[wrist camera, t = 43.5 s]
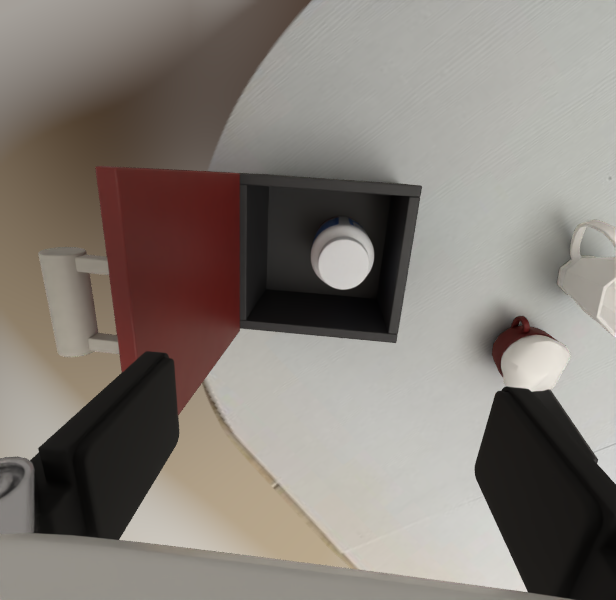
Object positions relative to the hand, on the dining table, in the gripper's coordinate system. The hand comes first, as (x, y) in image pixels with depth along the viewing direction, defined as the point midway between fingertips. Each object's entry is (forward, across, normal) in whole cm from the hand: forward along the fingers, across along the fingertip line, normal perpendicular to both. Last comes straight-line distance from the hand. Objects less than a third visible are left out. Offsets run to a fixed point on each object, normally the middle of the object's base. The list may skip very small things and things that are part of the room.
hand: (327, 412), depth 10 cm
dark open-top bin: (+28, +1, 0) cm, 28 cm away
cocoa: (+28, -21, +10) cm, 37 cm away
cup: (+28, -24, 0) cm, 38 cm away
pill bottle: (+28, -1, 0) cm, 28 cm away
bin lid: (+11, +8, 0) cm, 13 cm away
